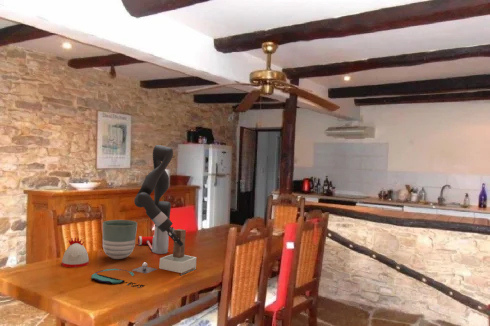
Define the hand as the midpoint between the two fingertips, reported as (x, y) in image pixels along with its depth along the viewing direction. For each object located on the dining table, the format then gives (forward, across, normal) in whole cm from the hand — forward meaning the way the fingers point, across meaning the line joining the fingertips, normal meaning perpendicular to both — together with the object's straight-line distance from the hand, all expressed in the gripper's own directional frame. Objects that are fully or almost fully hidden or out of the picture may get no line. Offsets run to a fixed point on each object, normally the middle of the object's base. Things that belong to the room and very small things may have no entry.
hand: (182, 243), depth 226 cm
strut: (+4, 0, +6) cm, 7 cm away
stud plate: (-3, -6, +24) cm, 25 cm away
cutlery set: (-9, -19, +32) cm, 38 cm away
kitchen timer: (-31, +7, +52) cm, 61 cm away
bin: (+9, 0, +12) cm, 15 cm away
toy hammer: (-6, +53, +28) cm, 60 cm away
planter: (-16, +21, +38) cm, 46 cm away
